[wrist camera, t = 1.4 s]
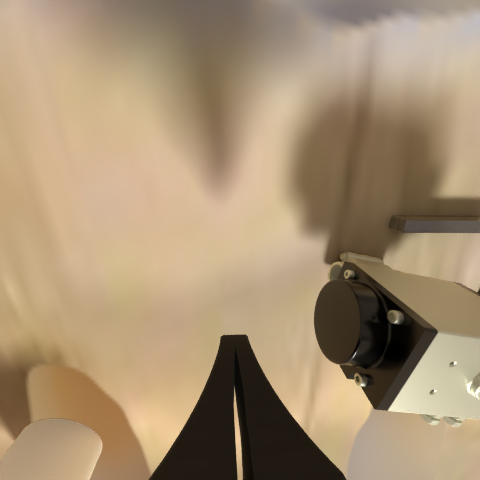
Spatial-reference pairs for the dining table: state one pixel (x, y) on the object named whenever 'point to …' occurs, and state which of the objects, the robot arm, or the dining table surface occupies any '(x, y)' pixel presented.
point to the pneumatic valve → (403, 338)
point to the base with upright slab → (52, 452)
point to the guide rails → (436, 224)
